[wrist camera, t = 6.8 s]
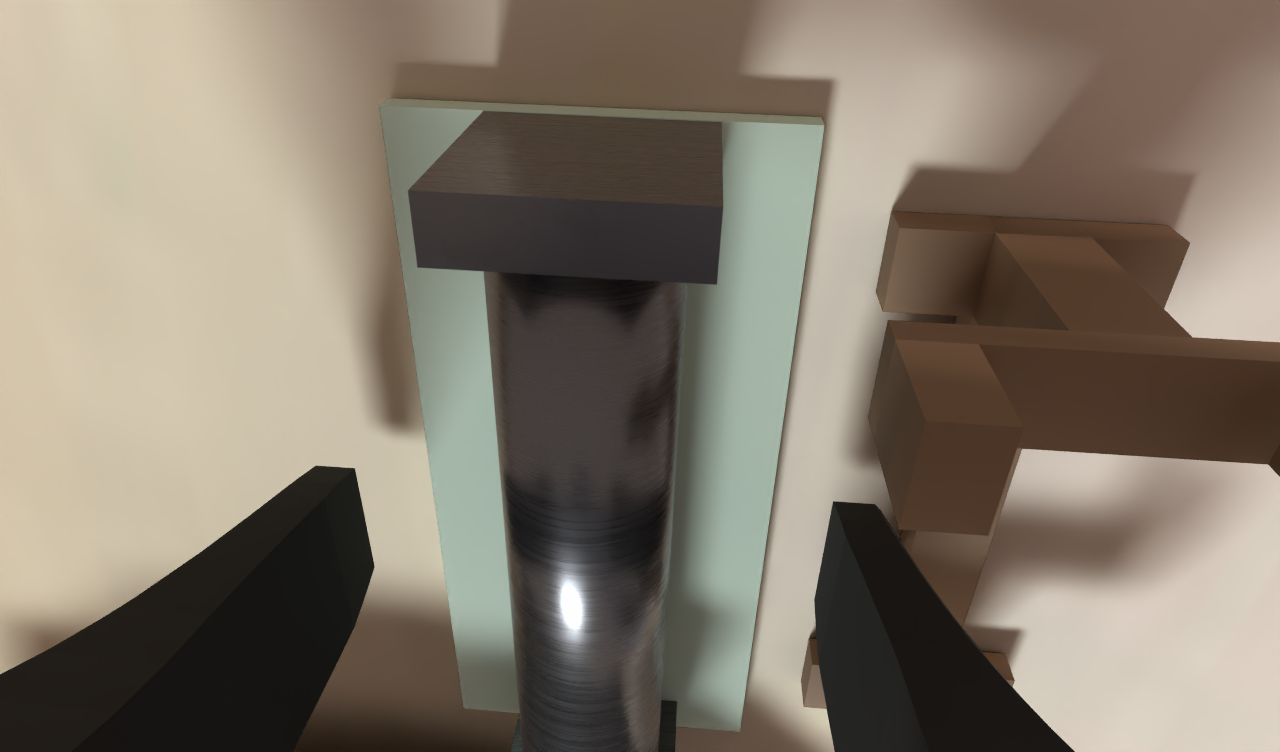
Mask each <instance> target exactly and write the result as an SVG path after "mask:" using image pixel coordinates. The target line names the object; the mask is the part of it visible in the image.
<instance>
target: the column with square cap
mask: <svg viewBox="0 0 1280 752" xmlns="http://www.w3.org/2000/svg"><path fill="white" fill-rule="evenodd" d="M408 197H409V205H410V213H411V220H412V228H413V236H414V244H415V252H416V260H417V268H433V269H450V270H468V271H484V284H485V296H486V308H487V321H488V333H489V345H490V358H491V370H492V382H493V395H494V407H495V419H496V432H497V444H498V456H499V469H500V481H501V493H502V506H503V518H504V531H505V543H506V555H507V568H508V580H509V592H510V605H511V617H512V629H513V642H514V654H515V666H516V679H517V691H518V703H519V718H518V723H517V727H516V731H515V735H514V740H513V744H512V748H511V752H675V736H676V715H677V701H666V700H662V684H663V668H664V651H665V635H666V619H667V603H668V586H669V570H670V554H671V537H672V521H673V505H674V488H675V472H676V456H677V439H678V423H679V407H680V391H681V374H682V358H683V342H684V325H685V309H686V293H687V283H695V284H712V285H717V278H718V266H719V254H720V242H721V229H722V217H723V163H722V122H707V121H686V120H664V119H643V118H622V117H600V116H579V115H557V114H536V113H515V112H493V111H483V112H482V113H481V114H480V115H479V116H478V117H477V118H476V119H475V120H474V121H473V122H472V123H471V124H470V125H469V126H468V128H467V129H466V130H465V131H464V132H463V133H462V134H461V135H460V136H459V137H458V138H457V139H456V140H455V141H454V142H453V143H452V144H451V145H450V146H449V148H448V149H447V150H446V151H445V152H444V153H443V154H442V155H441V156H440V157H439V158H438V159H437V160H436V161H435V162H434V163H433V164H432V165H431V166H430V168H429V169H428V170H427V171H426V172H425V173H424V174H423V175H422V176H421V177H420V178H419V179H418V180H417V181H416V182H415V183H414V184H413V185H412V186H411V188H410V189H409V190H408Z"/></svg>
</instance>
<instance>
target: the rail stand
mask: <svg viewBox="0 0 1280 752" xmlns="http://www.w3.org/2000/svg"><path fill="white" fill-rule="evenodd" d="M1189 245H1190V242H1188V241H1187V240H1186V239H1185V238H1183V237H1182V236H1181V235H1180V234H1178V233H1177V232H1176V231H1175V230H1173V229H1172V228H1171V227H1170V226H1168V225H1152V224H1132V223H1112V222H1092V221H1072V220H1052V219H1032V218H1012V217H992V216H972V215H952V214H932V213H912V212H892V211H891V216H890V221H889V226H888V231H887V237H886V242H885V247H884V252H883V257H882V263H881V268H880V273H879V278H878V283H877V288H876V294H877V297H878V300H879V302H880V305H881V308H882V310H883V312H899V313H916V314H934V315H952V316H957V318H956V322H955V324H945V323H927V322H910V321H892V320H888V322H887V327H886V332H885V337H884V342H883V347H882V352H881V357H880V361H879V366H878V371H877V376H876V381H875V386H874V391H873V395H872V400H871V405H870V410H869V415H868V419H869V423H870V426H871V430H872V434H873V437H874V441H875V445H876V448H877V452H878V456H879V459H880V463H881V467H882V470H883V474H884V477H885V481H886V485H887V488H888V492H889V496H890V499H891V503H892V507H893V510H894V514H895V518H896V521H897V525H898V529H899V530H903V531H902V535H901V538H900V541H901V543H902V544H903V546H904V547H905V549H906V550H907V552H908V553H909V555H910V556H911V558H912V559H913V561H914V562H915V563H916V565H917V566H918V568H919V569H920V571H921V572H922V574H923V575H924V576H925V578H926V579H927V581H928V582H929V583H930V585H931V586H932V588H933V589H934V590H935V592H936V593H937V594H938V596H939V597H940V598H941V600H942V601H943V602H944V604H945V605H946V606H947V608H948V609H949V610H950V612H951V613H952V615H953V616H954V617H955V619H956V620H957V621H958V623H959V624H960V625H961V626H962V628H963V625H964V622H965V619H966V616H967V613H968V610H969V607H970V604H971V601H972V598H973V595H974V592H975V589H976V586H977V583H978V580H979V577H980V574H981V571H982V568H983V565H984V562H985V559H986V556H987V553H988V550H989V547H990V544H991V541H992V538H993V535H994V532H995V528H996V525H997V522H998V519H999V516H1000V513H1001V510H1002V507H1003V504H1004V501H1005V498H1006V495H1007V492H1008V489H1009V486H1010V483H1011V480H1012V477H1013V474H1014V471H1015V468H1016V465H1017V462H1018V459H1019V456H1020V453H1021V450H1022V448H1023V449H1038V450H1054V451H1069V452H1085V453H1100V454H1115V455H1131V456H1146V457H1162V458H1177V459H1193V460H1208V461H1224V462H1239V463H1254V464H1268V465H1269V466H1270V467H1271V468H1272V469H1273V470H1274V471H1275V472H1276V473H1277V474H1278V475H1279V477H1280V343H1279V342H1261V341H1244V340H1226V339H1208V338H1193V337H1191V336H1190V335H1189V334H1188V333H1187V332H1186V331H1185V330H1184V329H1183V328H1182V327H1181V326H1180V325H1179V324H1178V323H1177V322H1176V321H1175V320H1174V319H1173V318H1172V317H1171V316H1170V315H1169V314H1168V313H1167V312H1166V311H1165V310H1164V307H1165V305H1166V302H1167V300H1168V297H1169V295H1170V292H1171V290H1172V287H1173V285H1174V282H1175V280H1176V277H1177V275H1178V272H1179V270H1180V267H1181V265H1182V262H1183V260H1184V257H1185V255H1186V252H1187V250H1188V247H1189ZM983 654H984V655H985V656H986V657H987V658H988V660H989V661H990V662H991V663H992V664H993V666H994V667H995V668H996V669H997V670H998V671H999V673H1000V674H1001V675H1002V676H1003V677H1004V678H1005V679H1006V681H1007V682H1008V683H1009V684H1010V685H1011V686H1013V684H1014V681H1015V680H1014V678H1013V675H1012V672H1011V669H1010V667H1009V664H1008V661H1007V658H1006V656H1005V654H1002V653H989V652H983ZM801 685H802V694H803V704H804V707H812V708H824V709H827V707H826V702H825V696H824V691H823V686H822V680H821V674H820V669H819V661H818V648H817V639H810V638H809V642H808V647H807V652H806V657H805V662H804V668H803V673H802V678H801Z"/></svg>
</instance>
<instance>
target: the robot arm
mask: <svg viewBox="0 0 1280 752" xmlns="http://www.w3.org/2000/svg"><path fill="white" fill-rule="evenodd" d="M373 570H374V562H373V557H372V552H371V547H370V542H369V537H368V532H367V527H366V522H365V517H364V512H363V507H362V502H361V497H360V492H359V487H358V482H357V477H356V472H355V468H341V467H327V466H315V467H313V468H312V469H311V470H309V471H308V472H306V473H305V474H304V475H302V476H301V477H300V478H298V479H297V480H296V481H294V482H293V483H292V484H290V485H289V486H288V487H286V488H285V489H284V490H282V491H281V492H280V493H278V494H277V495H276V496H275V497H273V498H272V499H271V500H269V501H268V502H267V503H265V504H264V505H263V506H262V507H260V508H259V509H258V510H256V511H255V512H254V513H252V514H251V515H250V516H249V517H247V518H246V519H245V520H243V521H242V522H241V523H239V524H238V525H237V526H235V527H234V528H233V529H231V530H230V531H229V532H227V533H226V534H225V535H223V536H222V537H221V538H219V539H218V540H217V541H215V542H214V543H213V544H211V545H210V546H209V547H207V548H206V549H204V550H203V551H202V552H200V553H199V554H198V555H196V556H195V557H193V558H192V559H190V560H189V561H187V562H186V563H184V564H183V565H182V566H180V567H179V568H177V569H176V570H174V571H173V572H171V573H170V574H169V575H167V576H166V577H164V578H163V579H161V580H160V581H158V582H157V583H155V584H154V585H153V586H151V587H150V588H148V589H147V590H145V591H144V592H142V593H141V594H139V595H138V596H137V597H135V598H133V599H132V600H130V601H129V602H127V603H126V604H124V605H123V606H121V607H119V608H118V609H116V610H115V611H113V612H111V613H110V614H108V615H106V616H105V617H103V618H102V619H100V620H98V621H97V622H95V623H93V624H91V625H90V626H88V627H86V628H85V629H83V630H81V631H80V632H78V633H76V634H74V635H73V636H71V637H69V638H68V639H66V640H64V641H63V642H61V643H59V644H57V645H55V646H54V647H52V648H50V649H48V650H46V651H45V652H43V653H41V654H39V655H37V656H35V657H33V658H31V659H29V660H27V661H25V662H23V663H22V664H20V665H18V666H16V667H14V668H12V669H10V670H8V671H6V672H4V673H2V674H0V752H293V750H294V748H295V746H296V744H297V742H298V740H299V738H300V736H301V734H302V732H303V730H304V728H305V726H306V724H307V722H308V720H309V718H310V716H311V714H312V712H313V710H314V708H315V706H316V704H317V702H318V700H319V698H320V696H321V694H322V692H323V690H324V688H325V686H326V684H327V682H328V680H329V678H330V676H331V674H332V672H333V670H334V668H335V666H336V664H337V662H338V660H339V658H340V656H341V654H342V651H343V649H344V647H345V645H346V643H347V641H348V639H349V637H350V635H351V633H352V631H353V629H354V626H355V623H356V620H357V618H358V615H359V612H360V609H361V606H362V604H363V601H364V598H365V595H366V592H367V589H368V586H369V582H370V579H371V576H372V573H373ZM814 601H815V618H816V634H817V648H818V661H819V669H820V674H821V680H822V686H823V691H824V696H825V702H826V707H827V713H828V718H829V723H830V729H831V734H832V739H833V745H834V750H835V752H1075V751H1074V750H1073V749H1072V748H1071V747H1069V746H1068V745H1067V744H1066V743H1065V742H1064V741H1063V740H1062V739H1061V738H1060V737H1059V736H1058V735H1057V734H1056V733H1055V732H1054V731H1053V730H1052V729H1051V728H1050V727H1049V726H1048V725H1047V724H1046V723H1045V722H1044V721H1043V719H1042V718H1041V717H1040V716H1039V715H1038V714H1037V713H1036V712H1035V711H1034V710H1033V709H1032V708H1031V707H1030V706H1029V705H1028V704H1027V703H1026V702H1025V701H1024V700H1023V698H1022V697H1021V696H1020V695H1019V694H1018V693H1017V692H1016V691H1015V690H1014V689H1013V687H1012V686H1011V685H1010V684H1009V683H1008V682H1007V681H1006V679H1005V678H1004V677H1003V676H1002V675H1001V674H1000V673H999V671H998V670H997V669H996V668H995V667H994V666H993V664H992V663H991V662H990V661H989V660H988V658H987V657H986V656H985V655H984V654H983V652H982V651H981V650H980V649H979V648H978V646H977V645H976V644H975V643H974V642H973V640H972V639H971V638H970V636H969V635H968V634H967V633H966V631H965V630H964V629H963V628H962V626H961V625H960V624H959V623H958V621H957V620H956V619H955V617H954V616H953V615H952V613H951V612H950V610H949V609H948V608H947V606H946V605H945V604H944V602H943V601H942V600H941V598H940V597H939V596H938V594H937V593H936V592H935V590H934V589H933V588H932V586H931V585H930V583H929V582H928V581H927V579H926V578H925V576H924V575H923V574H922V572H921V571H920V569H919V568H918V566H917V565H916V563H915V562H914V561H913V559H912V558H911V556H910V555H909V553H908V552H907V550H906V549H905V547H904V546H903V544H902V543H901V541H900V540H899V538H898V537H897V535H896V533H895V532H894V530H893V529H892V527H891V526H890V524H889V523H888V521H887V519H886V518H885V516H884V515H883V513H882V512H881V510H880V509H879V508H878V507H877V506H876V505H875V504H863V503H848V502H834V501H833V505H832V511H831V516H830V521H829V526H828V532H827V537H826V542H825V547H824V553H823V558H822V563H821V568H820V574H819V579H818V584H817V589H816V595H815V600H814Z"/></svg>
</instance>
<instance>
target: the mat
mask: <svg viewBox="0 0 1280 752" xmlns="http://www.w3.org/2000/svg"><path fill="white" fill-rule="evenodd" d="M379 108H380V115H381V122H382V130H383V137H384V144H385V151H386V158H387V165H388V172H389V180H390V187H391V194H392V201H393V208H394V215H395V222H396V230H397V237H398V244H399V251H400V258H401V265H402V273H403V280H404V287H405V294H406V301H407V308H408V315H409V323H410V330H411V337H412V344H413V351H414V358H415V365H416V373H417V380H418V387H419V394H420V401H421V408H422V415H423V423H424V430H425V437H426V444H427V451H428V458H429V466H430V473H431V480H432V487H433V494H434V501H435V508H436V516H437V523H438V530H439V537H440V544H441V551H442V558H443V566H444V573H445V580H446V587H447V594H448V601H449V608H450V616H451V623H452V630H453V637H454V644H455V651H456V658H457V666H458V673H459V680H460V687H461V694H462V701H463V709H474V710H486V711H498V712H509V713H519V703H518V691H517V679H516V666H515V654H514V642H513V629H512V617H511V605H510V592H509V580H508V568H507V555H506V543H505V531H504V518H503V506H502V493H501V481H500V469H499V456H498V444H497V432H496V419H495V407H494V395H493V382H492V370H491V358H490V345H489V333H488V321H487V308H486V296H485V284H484V271H468V270H450V269H433V268H417V260H416V252H415V244H414V236H413V228H412V220H411V213H410V205H409V197H408V190H409V189H410V188H411V186H412V185H413V184H414V183H415V182H416V181H417V180H418V179H419V178H420V177H421V176H422V175H423V174H424V173H425V172H426V171H427V170H428V169H429V168H430V166H431V165H432V164H433V163H434V162H435V161H436V160H437V159H438V158H439V157H440V156H441V155H442V154H443V153H444V152H445V151H446V150H447V149H448V148H449V146H450V145H451V144H452V143H453V142H454V141H455V140H456V139H457V138H458V137H459V136H460V135H461V134H462V133H463V132H464V131H465V130H466V129H467V128H468V126H469V125H470V124H471V123H472V122H473V121H474V120H475V119H476V118H477V117H478V116H479V115H480V114H481V113H482V112H483V111H493V112H515V113H536V114H557V115H579V116H600V117H622V118H643V119H664V120H686V121H707V122H722V163H723V217H722V229H721V242H720V254H719V266H718V278H717V285H712V284H695V283H687V293H686V309H685V325H684V342H683V358H682V374H681V391H680V407H679V423H678V439H677V456H676V472H675V488H674V505H673V521H672V537H671V554H670V570H669V586H668V603H667V619H666V635H665V651H664V668H663V684H662V700H666V701H677V715H676V727H687V728H699V729H710V730H722V731H734V732H740V726H741V719H742V712H743V705H744V698H745V691H746V683H747V676H748V669H749V662H750V655H751V648H752V641H753V633H754V626H755V619H756V612H757V605H758V598H759V591H760V583H761V576H762V569H763V562H764V555H765V548H766V541H767V533H768V526H769V519H770V512H771V505H772V498H773V490H774V483H775V476H776V469H777V462H778V455H779V448H780V440H781V433H782V426H783V419H784V412H785V405H786V398H787V390H788V383H789V376H790V369H791V362H792V355H793V347H794V340H795V333H796V326H797V319H798V312H799V305H800V297H801V290H802V283H803V276H804V269H805V262H806V255H807V247H808V240H809V233H810V226H811V219H812V212H813V204H814V197H815V190H816V183H817V176H818V169H819V162H820V154H821V147H822V140H823V133H824V126H825V125H824V123H823V121H822V118H821V117H807V116H784V115H761V114H739V113H716V112H693V111H670V110H647V109H625V108H602V107H579V106H556V105H534V104H511V103H488V102H465V101H442V100H420V99H397V98H389V99H388V100H387V101H385V102H384V103H382V104H381V105H379Z"/></svg>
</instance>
